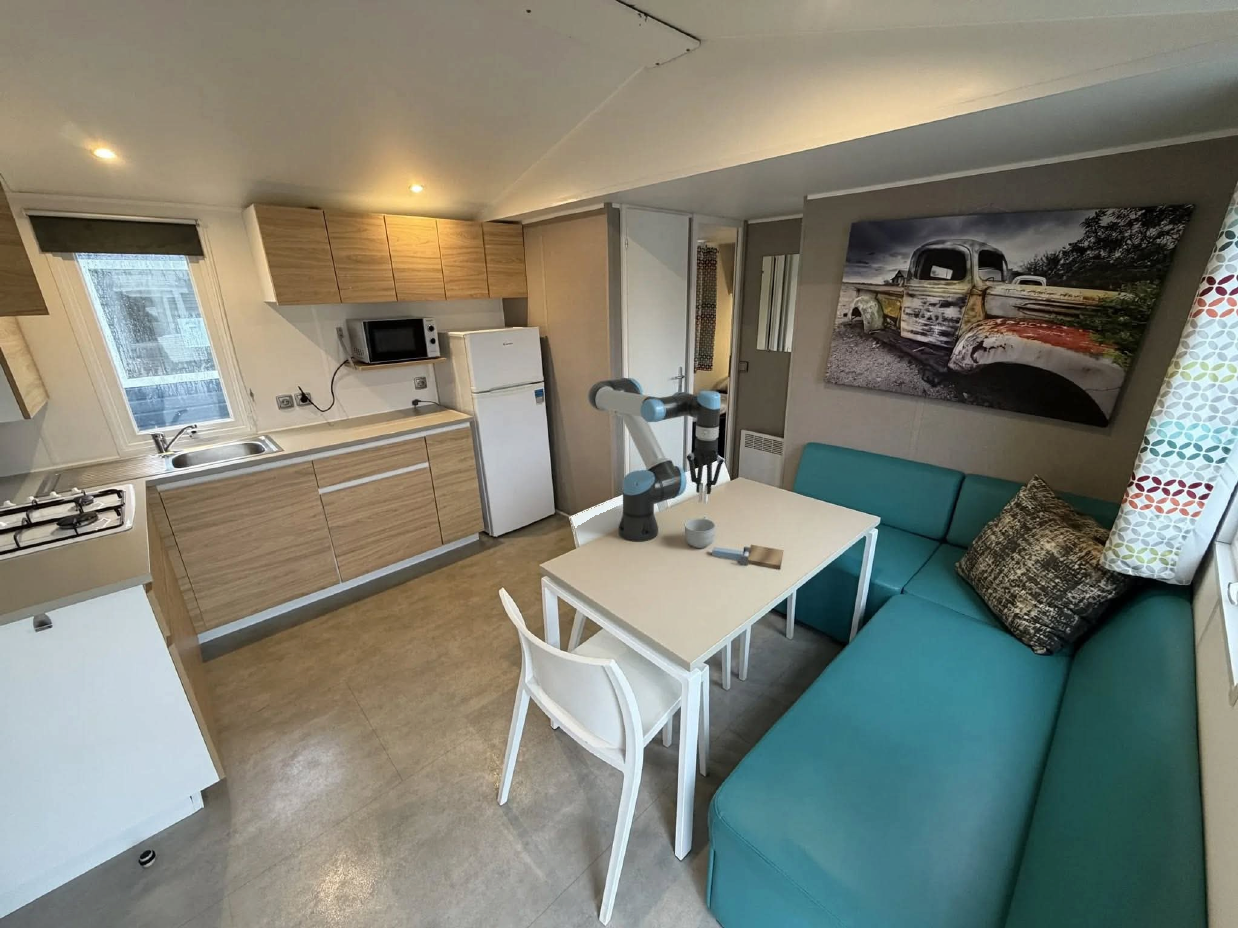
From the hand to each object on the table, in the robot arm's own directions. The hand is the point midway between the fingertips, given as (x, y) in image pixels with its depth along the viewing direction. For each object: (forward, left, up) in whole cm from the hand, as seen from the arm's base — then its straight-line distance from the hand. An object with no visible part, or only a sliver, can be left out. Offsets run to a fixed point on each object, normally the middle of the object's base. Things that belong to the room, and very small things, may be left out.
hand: (702, 501), depth 171 cm
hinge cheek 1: (+17, -4, -16) cm, 24 cm away
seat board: (+23, -3, -16) cm, 28 cm away
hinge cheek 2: (+17, -10, -16) cm, 26 cm away
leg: (+12, -7, -16) cm, 21 cm away
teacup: (0, 0, -16) cm, 16 cm away
